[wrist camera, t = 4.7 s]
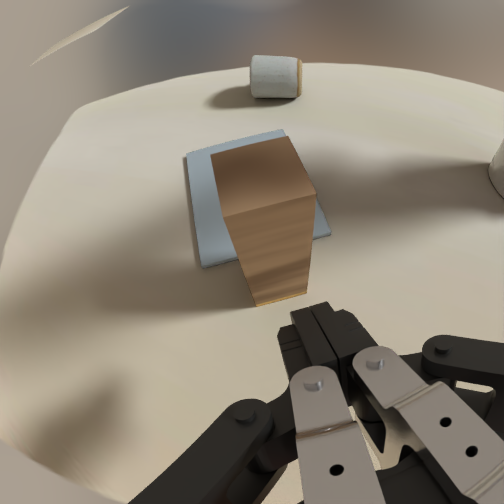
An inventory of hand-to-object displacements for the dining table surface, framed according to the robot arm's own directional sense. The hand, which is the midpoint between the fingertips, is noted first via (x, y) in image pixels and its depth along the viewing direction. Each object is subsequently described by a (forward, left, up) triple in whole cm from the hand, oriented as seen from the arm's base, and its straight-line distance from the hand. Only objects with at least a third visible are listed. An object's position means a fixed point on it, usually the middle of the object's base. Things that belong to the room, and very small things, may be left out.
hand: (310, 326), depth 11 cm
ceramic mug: (+32, -30, -16) cm, 46 cm away
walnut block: (+8, -5, -16) cm, 18 cm away
